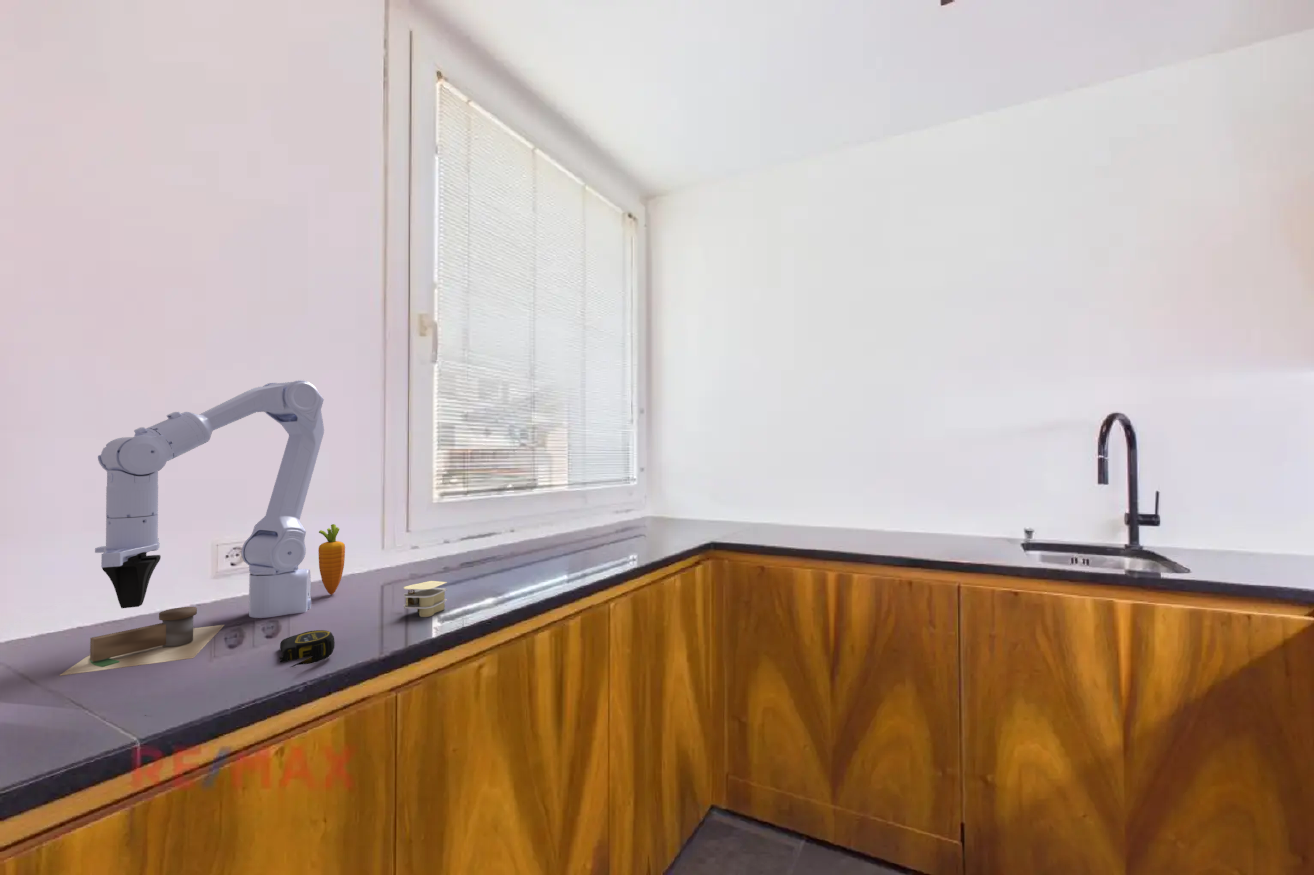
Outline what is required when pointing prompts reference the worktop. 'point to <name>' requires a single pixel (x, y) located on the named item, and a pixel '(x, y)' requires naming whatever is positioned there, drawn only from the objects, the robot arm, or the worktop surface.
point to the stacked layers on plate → (426, 598)
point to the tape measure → (307, 646)
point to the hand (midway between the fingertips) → (131, 606)
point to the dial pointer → (147, 635)
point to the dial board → (149, 654)
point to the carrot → (331, 559)
